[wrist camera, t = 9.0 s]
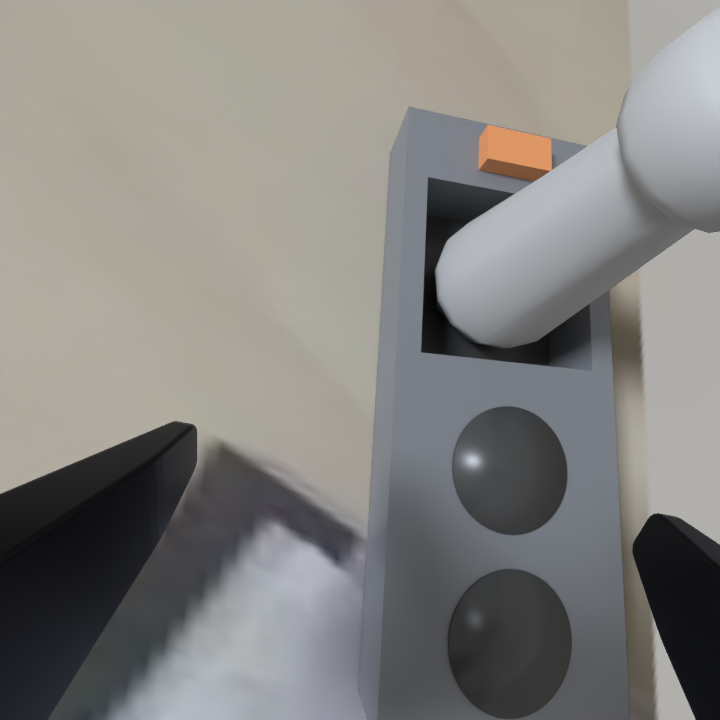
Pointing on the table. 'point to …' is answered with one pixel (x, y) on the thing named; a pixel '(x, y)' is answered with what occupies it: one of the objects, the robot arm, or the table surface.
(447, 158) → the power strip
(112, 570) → the robot arm
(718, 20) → the salt shaker
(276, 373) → the table surface
